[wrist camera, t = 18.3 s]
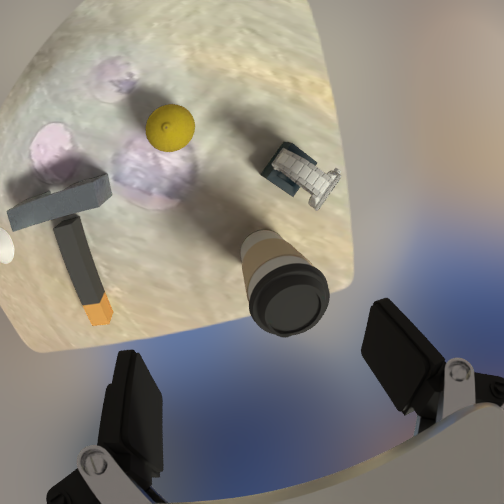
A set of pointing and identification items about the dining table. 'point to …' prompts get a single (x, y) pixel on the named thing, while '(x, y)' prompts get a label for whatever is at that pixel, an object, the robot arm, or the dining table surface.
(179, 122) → the lemon
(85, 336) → the dining table surface
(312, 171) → the watch
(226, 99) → the dining table surface
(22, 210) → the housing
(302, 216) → the dining table surface
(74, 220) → the plug
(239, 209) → the dining table surface
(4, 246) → the champagne flute
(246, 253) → the coffee cup
